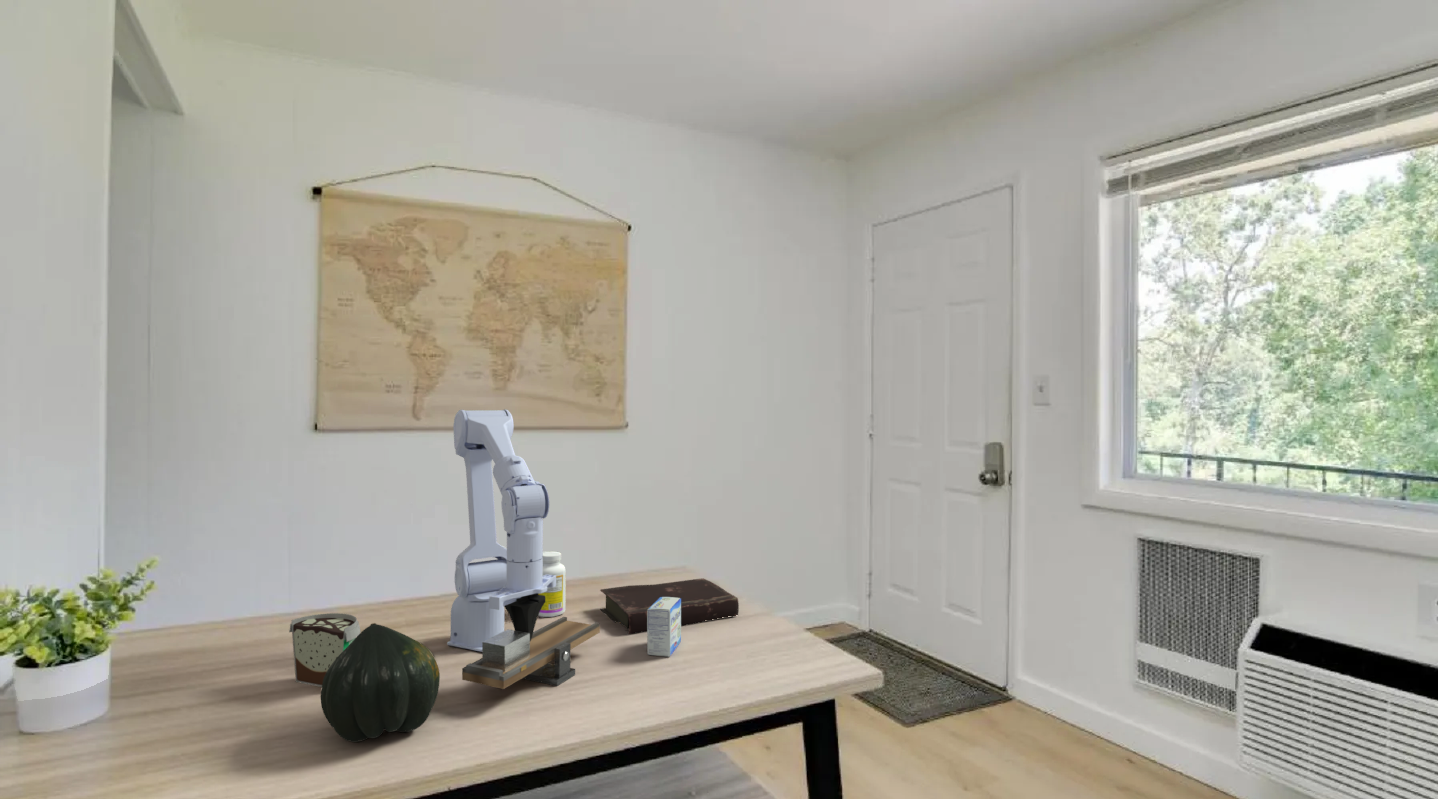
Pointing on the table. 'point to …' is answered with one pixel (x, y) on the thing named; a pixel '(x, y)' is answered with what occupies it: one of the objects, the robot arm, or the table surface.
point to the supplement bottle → (555, 595)
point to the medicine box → (664, 626)
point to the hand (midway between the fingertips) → (524, 641)
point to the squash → (380, 685)
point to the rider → (506, 650)
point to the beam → (533, 653)
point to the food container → (320, 643)
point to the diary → (695, 596)
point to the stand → (555, 668)
